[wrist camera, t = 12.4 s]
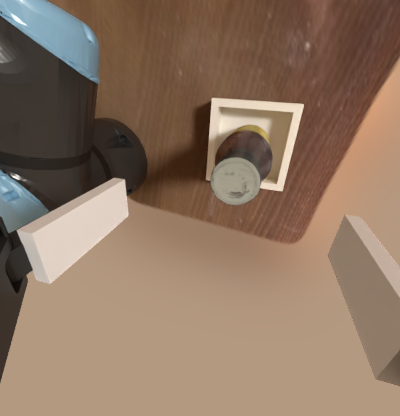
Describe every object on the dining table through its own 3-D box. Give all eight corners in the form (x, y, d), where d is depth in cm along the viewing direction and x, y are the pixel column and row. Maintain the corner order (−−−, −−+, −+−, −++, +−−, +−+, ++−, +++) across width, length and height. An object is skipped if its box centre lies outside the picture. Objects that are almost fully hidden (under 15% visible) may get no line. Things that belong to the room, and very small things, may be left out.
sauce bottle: (258, 169, 36) (249, 236, 19) (223, 154, 36) (184, 205, 19) (279, 131, 33) (292, 169, 16) (240, 114, 33) (212, 132, 16)
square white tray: (211, 172, 39) (205, 180, 36) (217, 97, 34) (211, 98, 30) (280, 182, 37) (282, 191, 34) (300, 103, 31) (304, 104, 28)
